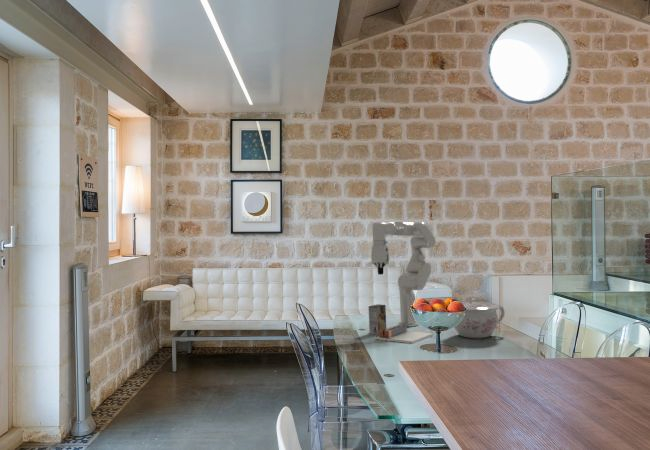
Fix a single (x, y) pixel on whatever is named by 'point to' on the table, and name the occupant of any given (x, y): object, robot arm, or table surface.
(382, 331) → the tong base
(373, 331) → the coffee box
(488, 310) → the chamber pot
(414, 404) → the table surface
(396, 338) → the plate
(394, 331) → the tong arm
